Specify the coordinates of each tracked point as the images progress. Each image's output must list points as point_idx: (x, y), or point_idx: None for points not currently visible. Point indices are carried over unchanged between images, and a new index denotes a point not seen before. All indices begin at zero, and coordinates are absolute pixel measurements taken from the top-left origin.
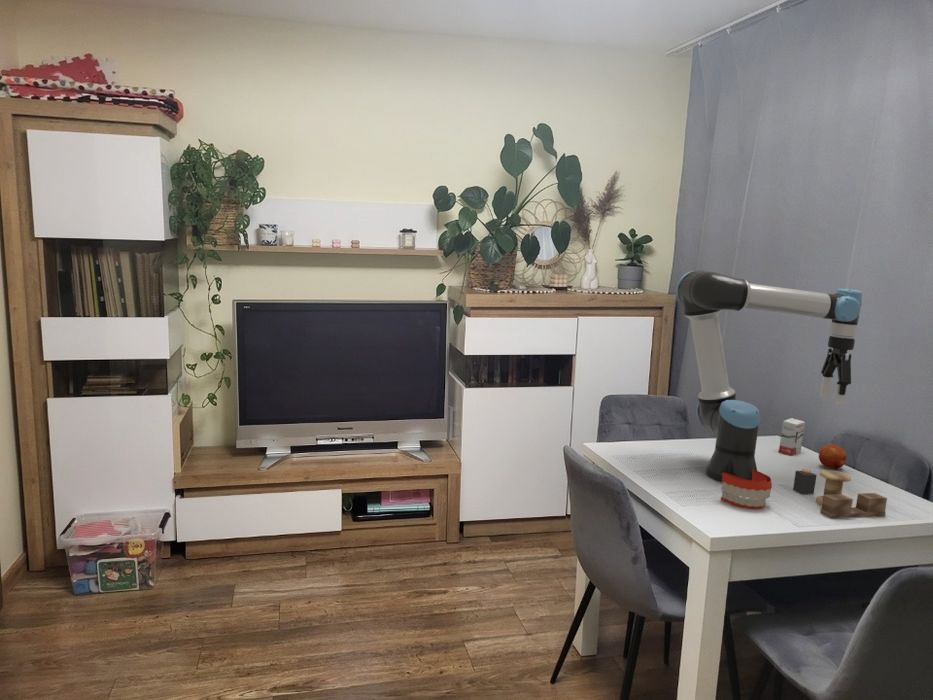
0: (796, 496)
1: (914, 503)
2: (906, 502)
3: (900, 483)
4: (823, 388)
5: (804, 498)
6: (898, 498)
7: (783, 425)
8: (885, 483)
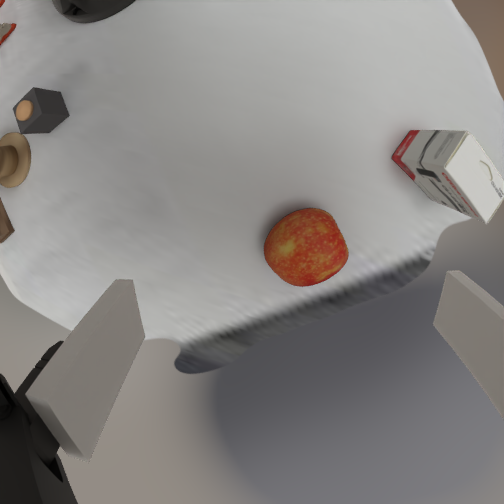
0: None
1: None
2: None
3: (225, 359)
4: (478, 311)
5: None
6: None
7: (457, 132)
8: (208, 329)
